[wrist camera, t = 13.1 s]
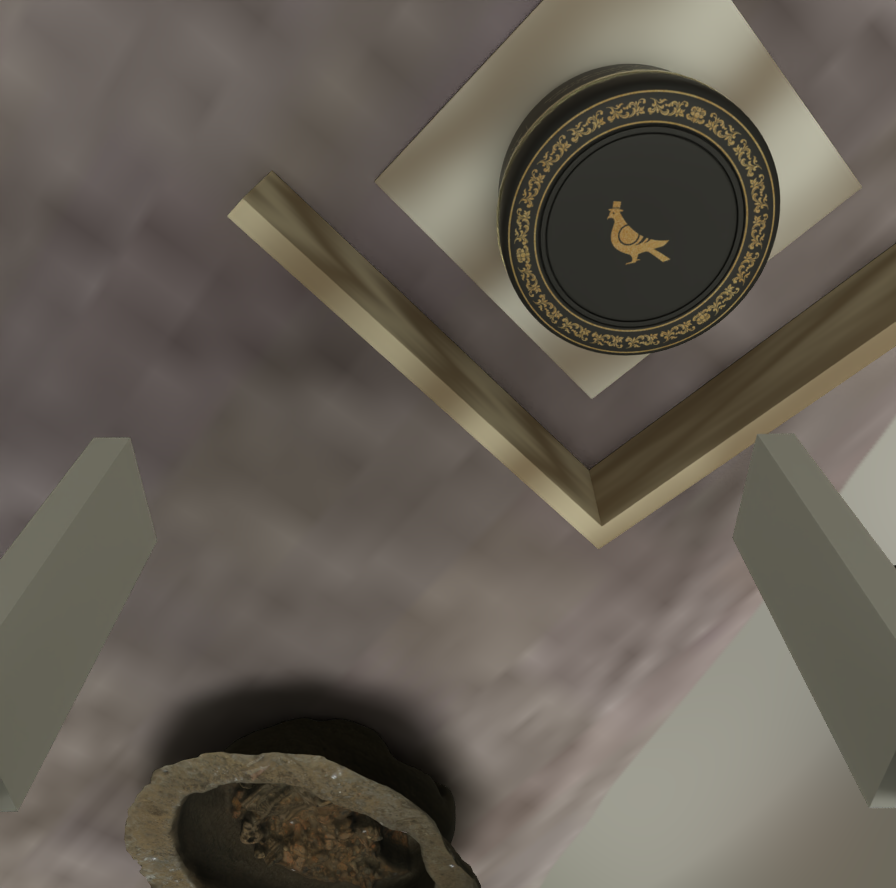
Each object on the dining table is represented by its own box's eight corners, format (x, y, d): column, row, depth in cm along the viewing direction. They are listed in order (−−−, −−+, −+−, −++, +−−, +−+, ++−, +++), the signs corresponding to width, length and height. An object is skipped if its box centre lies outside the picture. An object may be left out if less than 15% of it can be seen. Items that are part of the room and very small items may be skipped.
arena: (258, 186, 34) (227, 216, 30) (599, -214, 27) (622, -249, 23) (586, 491, 42) (598, 549, 38) (919, 249, 35) (980, 287, 31)
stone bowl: (548, 829, 59) (550, 965, 51) (289, 884, 67) (258, 1007, 60) (373, 623, 47) (343, 758, 40) (90, 721, 56) (21, 846, 48)
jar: (667, 317, 37) (709, 390, 30) (466, 260, 35) (464, 324, 29) (767, 97, 31) (844, 128, 25) (536, 23, 30) (553, 36, 24)
